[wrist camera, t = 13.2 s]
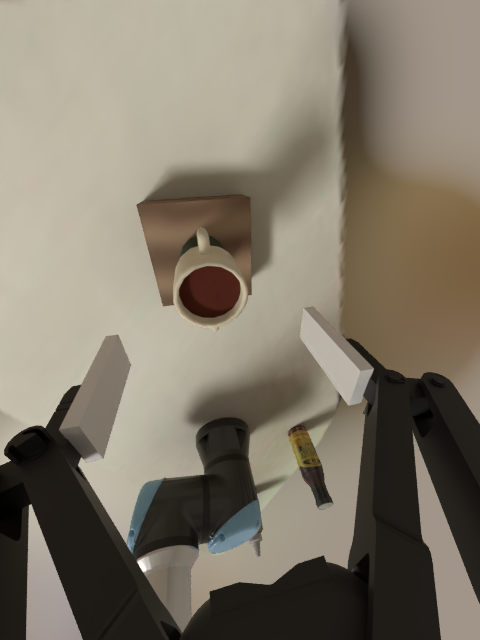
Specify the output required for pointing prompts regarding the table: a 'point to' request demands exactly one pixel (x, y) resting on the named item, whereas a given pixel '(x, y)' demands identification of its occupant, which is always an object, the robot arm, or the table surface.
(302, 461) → the sauce bottle
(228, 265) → the character mug
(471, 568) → the robot arm
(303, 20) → the table surface
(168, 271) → the walnut stand
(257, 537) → the squeeze bottle
